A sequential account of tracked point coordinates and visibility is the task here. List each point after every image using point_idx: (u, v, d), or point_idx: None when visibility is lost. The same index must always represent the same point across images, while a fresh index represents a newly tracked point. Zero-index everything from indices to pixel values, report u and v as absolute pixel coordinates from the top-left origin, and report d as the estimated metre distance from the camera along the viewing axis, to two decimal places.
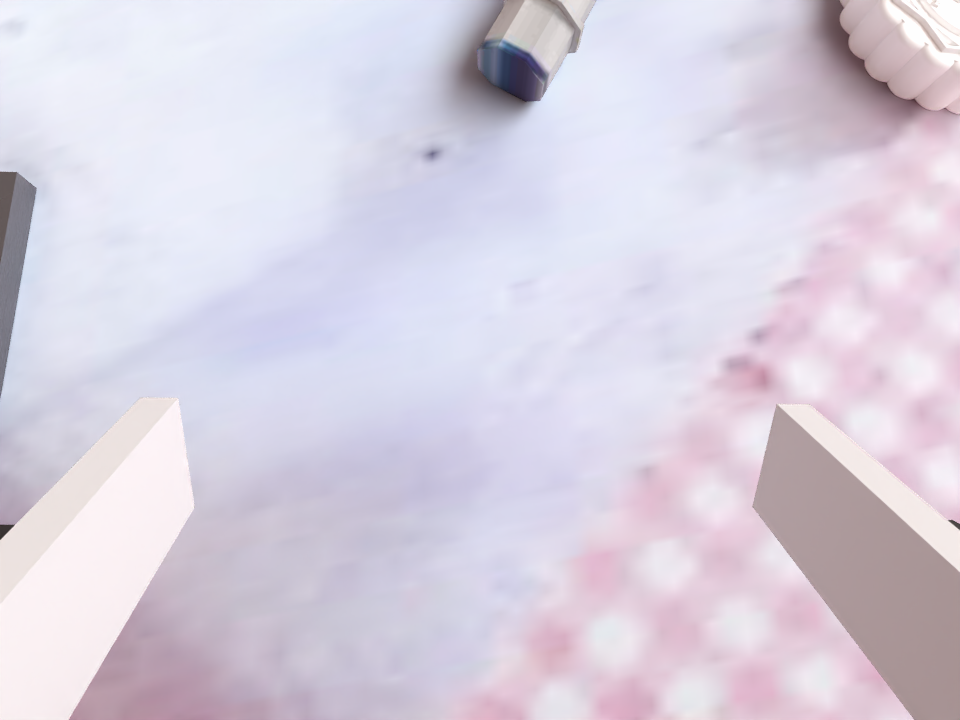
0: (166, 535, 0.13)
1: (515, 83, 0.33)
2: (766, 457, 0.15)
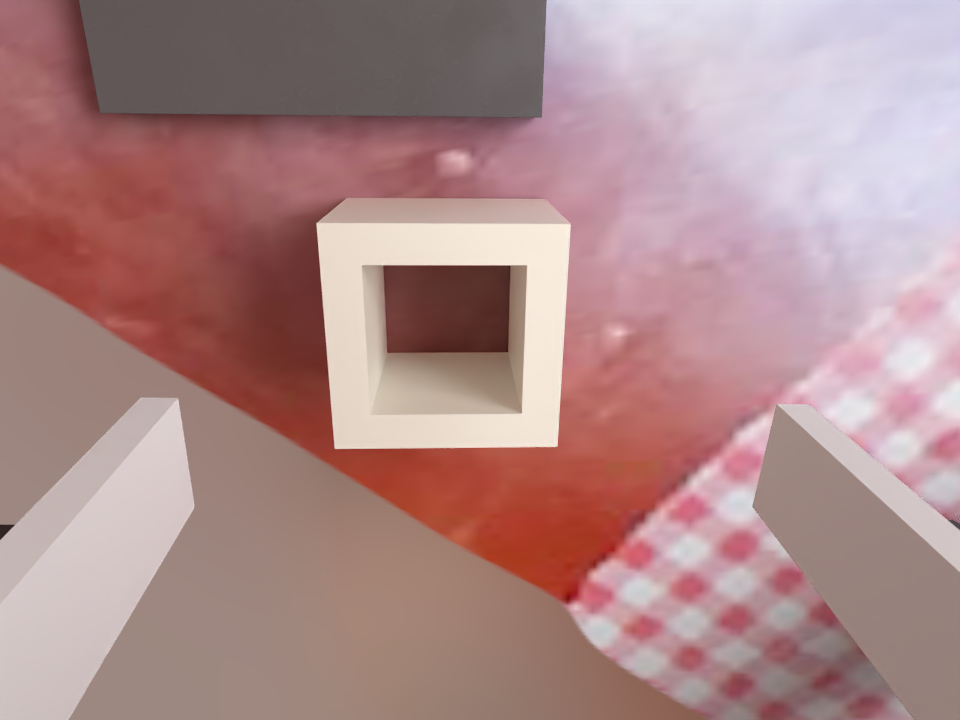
0: (166, 535, 0.13)
1: None
2: (766, 457, 0.15)
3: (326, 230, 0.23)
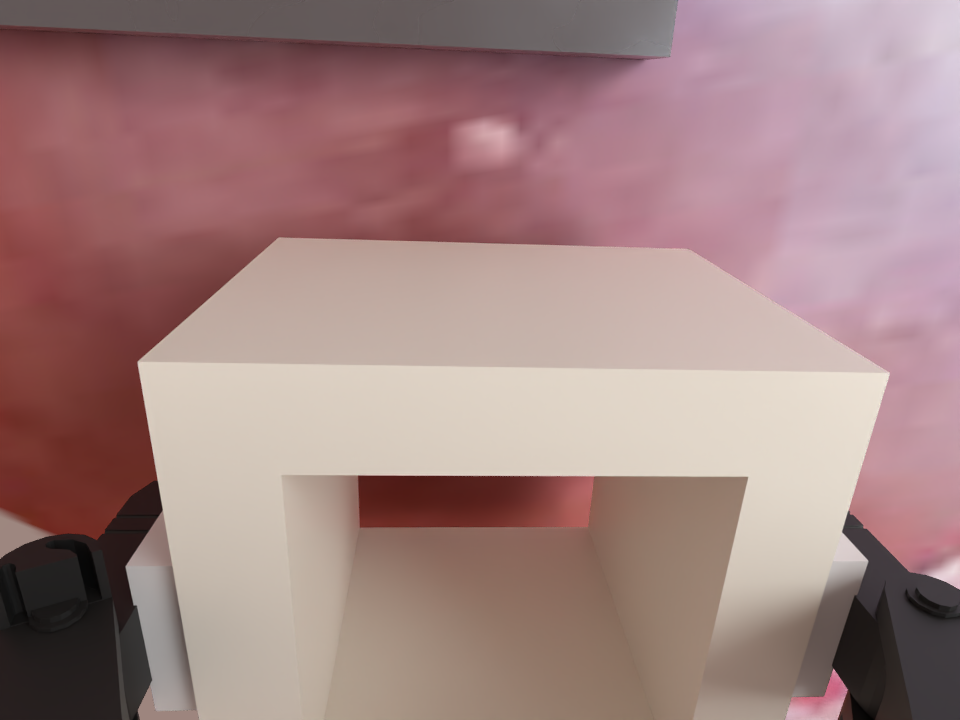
0: None
1: None
2: None
3: (170, 382, 0.07)
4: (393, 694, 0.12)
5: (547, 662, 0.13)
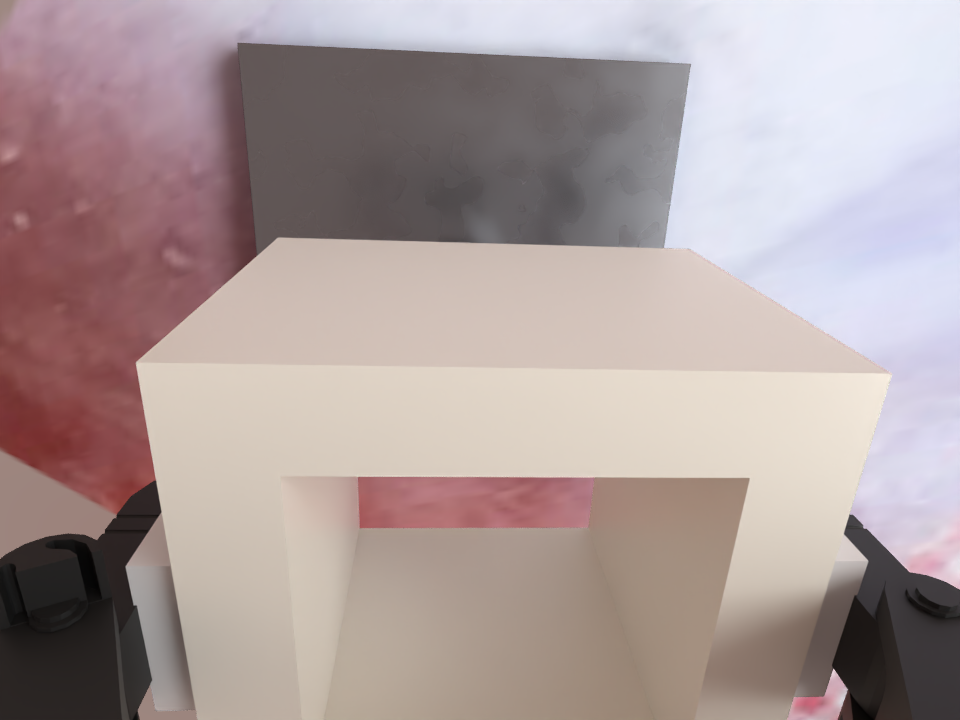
0: None
1: None
2: None
3: (169, 383, 0.07)
4: (393, 696, 0.12)
5: (547, 664, 0.13)
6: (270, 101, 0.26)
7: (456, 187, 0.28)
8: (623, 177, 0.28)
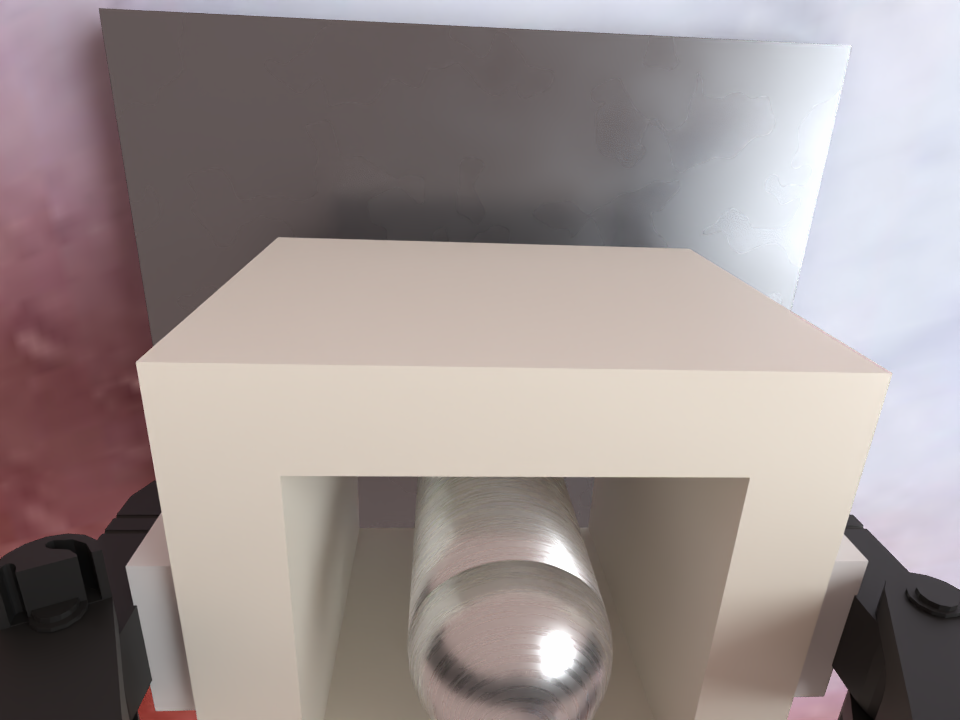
0: None
1: None
2: None
3: (169, 382, 0.07)
4: (393, 695, 0.12)
5: None
6: (160, 107, 0.16)
7: None
8: (731, 227, 0.18)
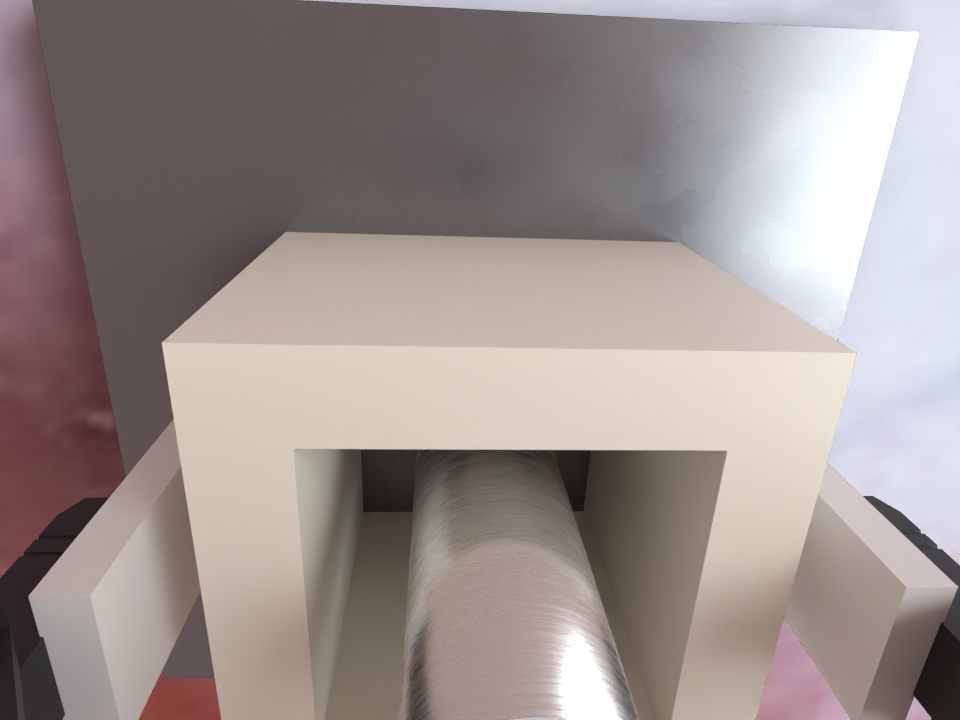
0: None
1: None
2: None
3: (191, 361, 0.08)
4: (396, 665, 0.13)
5: None
6: (107, 105, 0.13)
7: None
8: (773, 243, 0.15)
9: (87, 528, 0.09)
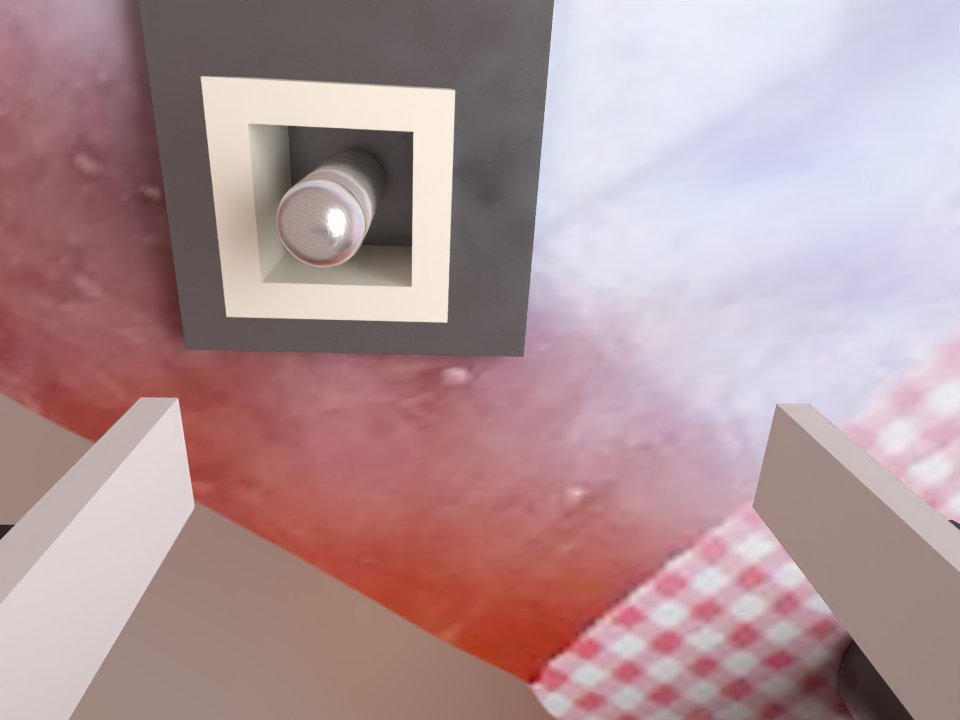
0: (166, 535, 0.13)
1: None
2: (765, 457, 0.15)
3: (210, 84, 0.23)
4: (300, 270, 0.28)
5: (373, 268, 0.29)
6: (165, 9, 0.28)
7: None
8: (499, 90, 0.30)
9: None
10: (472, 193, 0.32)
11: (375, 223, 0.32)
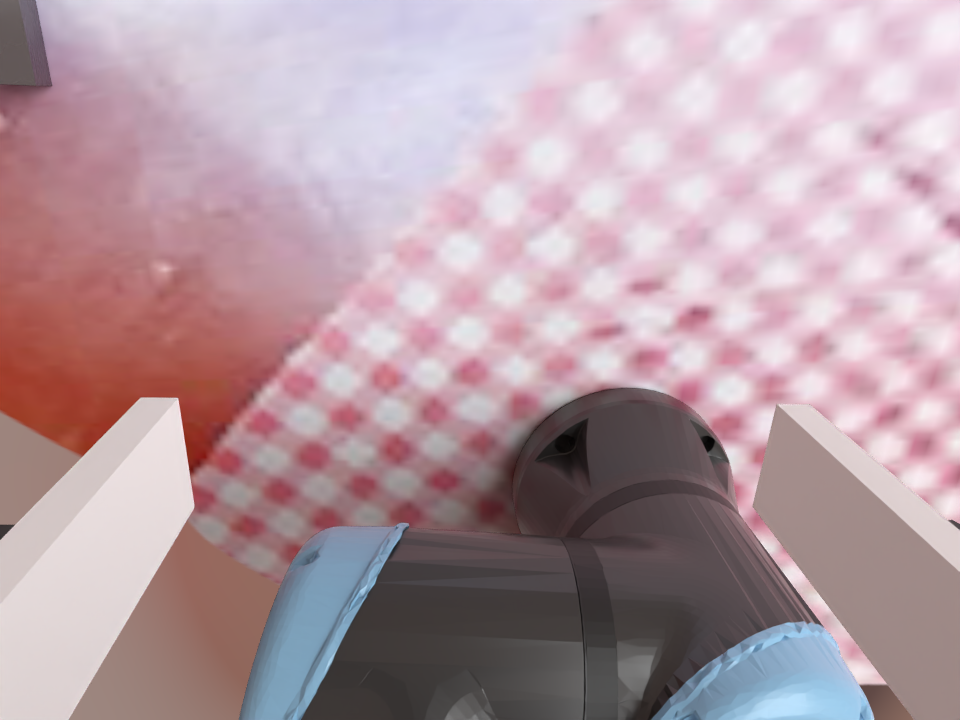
0: (165, 535, 0.13)
1: None
2: (766, 457, 0.15)
3: None
4: None
5: None
6: None
7: None
8: None
9: None
10: None
11: None
